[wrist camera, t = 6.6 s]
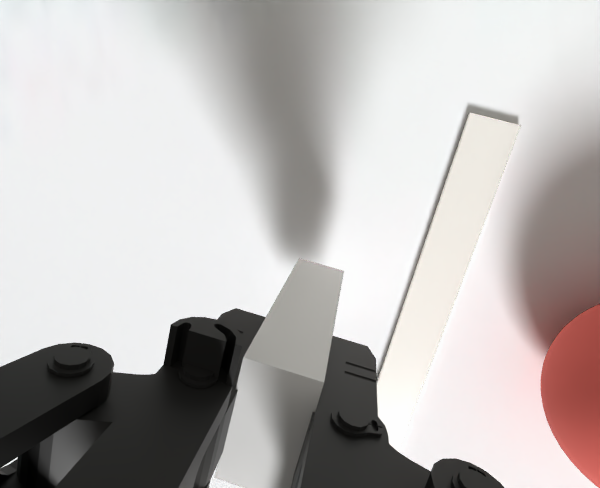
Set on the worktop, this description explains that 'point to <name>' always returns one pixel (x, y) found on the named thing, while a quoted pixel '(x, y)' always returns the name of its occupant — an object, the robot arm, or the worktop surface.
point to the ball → (575, 391)
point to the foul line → (442, 267)
